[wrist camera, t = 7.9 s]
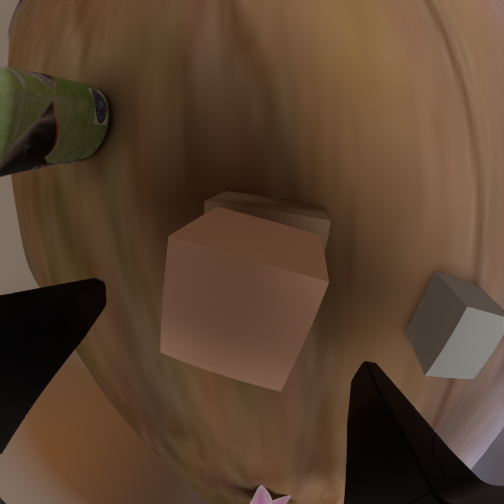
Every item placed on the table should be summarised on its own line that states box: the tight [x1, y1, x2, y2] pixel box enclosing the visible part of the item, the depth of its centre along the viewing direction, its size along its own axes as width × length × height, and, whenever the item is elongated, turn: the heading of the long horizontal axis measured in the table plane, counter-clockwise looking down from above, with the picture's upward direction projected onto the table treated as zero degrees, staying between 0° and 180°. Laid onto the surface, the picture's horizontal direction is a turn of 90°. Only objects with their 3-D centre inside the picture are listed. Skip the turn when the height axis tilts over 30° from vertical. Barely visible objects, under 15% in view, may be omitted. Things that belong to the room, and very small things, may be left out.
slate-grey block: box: [406, 271, 504, 379], centre depth 14 cm, size 5×5×5 cm
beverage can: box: [0, 67, 109, 177], centre depth 11 cm, size 6×7×12 cm
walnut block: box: [204, 191, 331, 254], centre depth 15 cm, size 6×6×4 cm
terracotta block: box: [160, 207, 329, 392], centre depth 11 cm, size 5×5×5 cm
